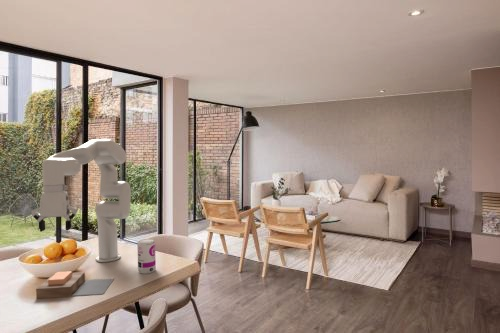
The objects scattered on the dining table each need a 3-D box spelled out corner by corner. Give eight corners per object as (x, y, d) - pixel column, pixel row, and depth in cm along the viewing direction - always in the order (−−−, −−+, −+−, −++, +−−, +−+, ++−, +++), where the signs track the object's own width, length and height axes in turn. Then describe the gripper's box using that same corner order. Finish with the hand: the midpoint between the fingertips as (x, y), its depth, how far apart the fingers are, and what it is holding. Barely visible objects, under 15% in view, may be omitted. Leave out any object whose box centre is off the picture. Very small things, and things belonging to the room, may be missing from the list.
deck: (54, 282, 148) (54, 273, 147) (85, 280, 150) (84, 272, 149) (36, 298, 132) (36, 288, 132) (70, 296, 134) (70, 286, 133)
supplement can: (158, 268, 164) (158, 239, 163) (149, 275, 156) (148, 243, 155) (144, 267, 166) (143, 238, 165) (134, 273, 158) (133, 242, 157)
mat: (86, 280, 150) (86, 280, 150) (113, 279, 151) (113, 278, 151) (72, 296, 134) (72, 295, 134) (103, 294, 135) (103, 293, 135)
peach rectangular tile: (57, 276, 144) (57, 271, 144) (72, 275, 145) (72, 271, 145) (48, 284, 136) (48, 280, 135) (63, 283, 136) (63, 279, 136)
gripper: (79, 187, 140) (80, 227, 141) (35, 188, 137) (36, 229, 138) (73, 189, 132) (74, 231, 133) (26, 190, 129) (27, 233, 130)
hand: (55, 230), depth 135 cm, fingers open, 9 cm apart
